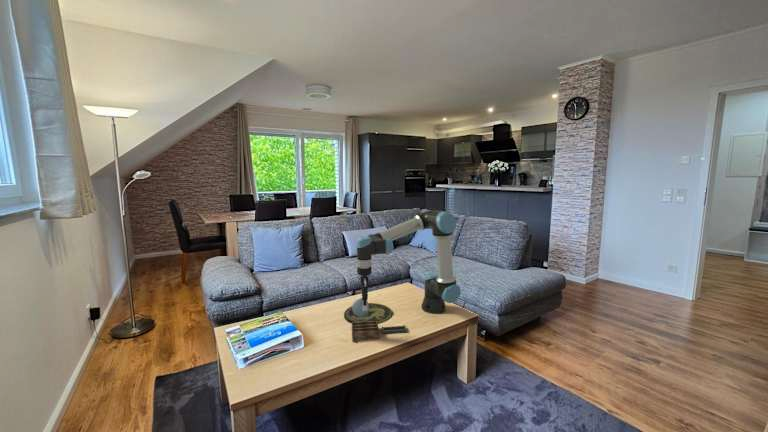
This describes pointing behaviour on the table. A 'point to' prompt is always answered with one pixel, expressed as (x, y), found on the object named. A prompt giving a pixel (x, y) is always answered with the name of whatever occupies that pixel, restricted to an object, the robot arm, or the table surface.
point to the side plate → (359, 308)
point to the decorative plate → (370, 314)
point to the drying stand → (394, 329)
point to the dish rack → (365, 330)
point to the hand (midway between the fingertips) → (364, 309)
